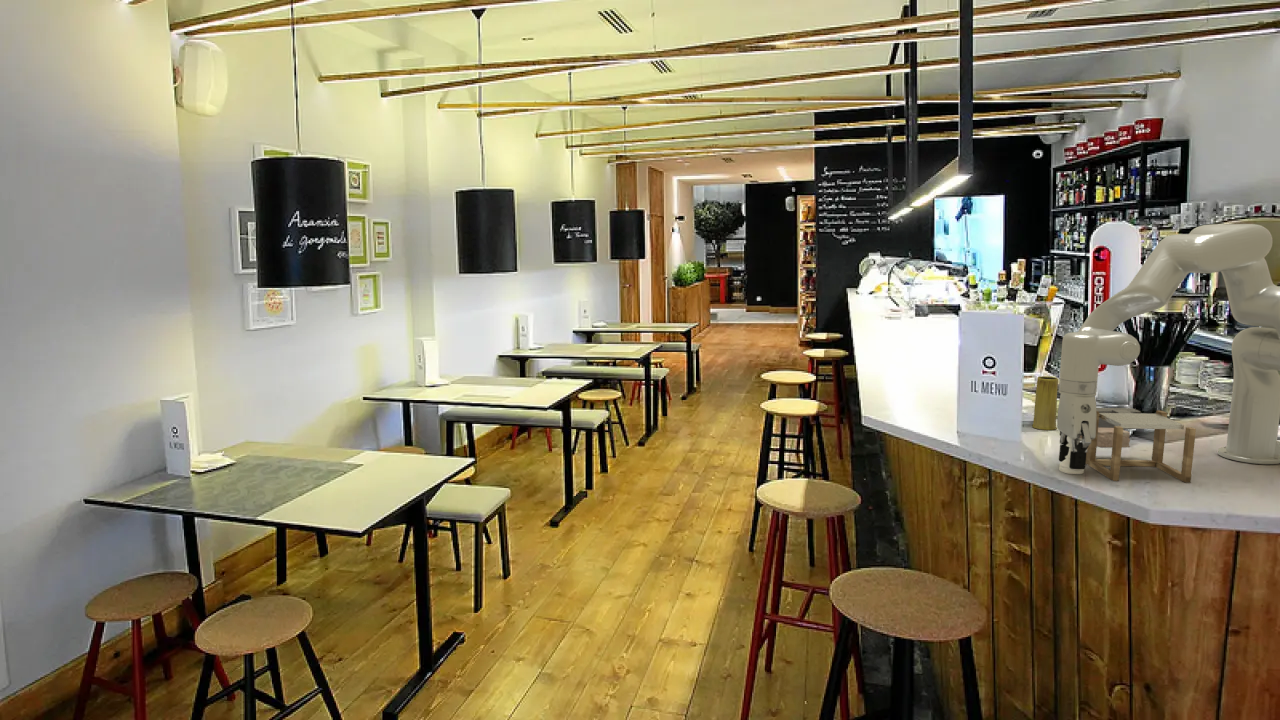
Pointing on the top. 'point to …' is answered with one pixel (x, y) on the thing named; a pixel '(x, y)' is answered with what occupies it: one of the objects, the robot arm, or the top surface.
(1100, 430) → the brick
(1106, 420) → the trapdoor
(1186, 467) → the frame
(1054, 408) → the vase
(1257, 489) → the top surface
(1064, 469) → the chess pawn
